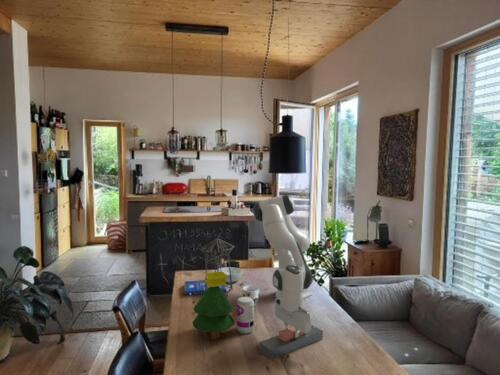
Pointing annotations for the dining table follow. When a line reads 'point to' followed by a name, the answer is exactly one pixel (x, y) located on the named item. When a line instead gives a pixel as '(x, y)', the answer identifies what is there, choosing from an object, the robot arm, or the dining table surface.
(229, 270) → the geometric lantern
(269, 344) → the rail
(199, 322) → the decorative tree
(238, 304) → the supplement can
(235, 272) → the cereal bowl
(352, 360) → the dining table surface
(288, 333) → the pink notched block
